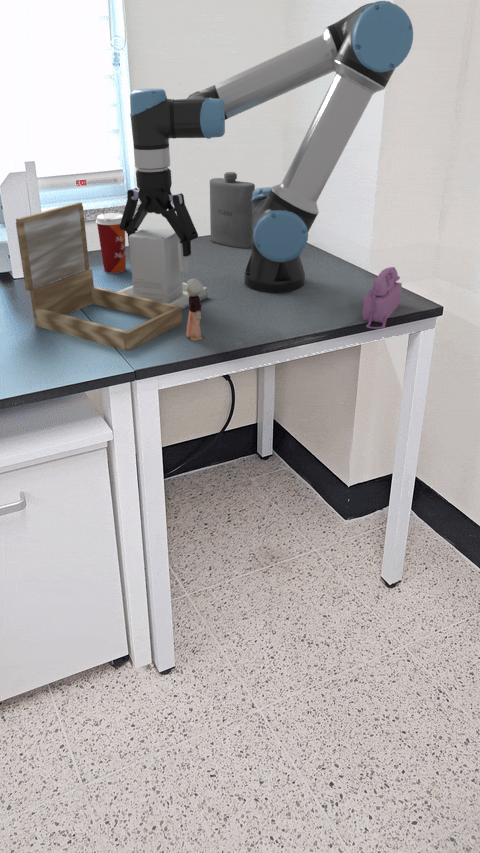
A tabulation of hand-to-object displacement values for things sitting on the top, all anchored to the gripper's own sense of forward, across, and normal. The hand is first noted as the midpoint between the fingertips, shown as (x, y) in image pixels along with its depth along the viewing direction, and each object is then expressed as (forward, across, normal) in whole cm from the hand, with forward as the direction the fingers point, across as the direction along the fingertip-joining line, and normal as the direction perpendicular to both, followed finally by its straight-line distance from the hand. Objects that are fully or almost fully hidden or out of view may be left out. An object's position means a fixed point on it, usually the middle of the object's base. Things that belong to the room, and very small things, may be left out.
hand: (160, 265), depth 165 cm
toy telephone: (+10, -47, -18) cm, 51 cm away
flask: (+9, +14, -51) cm, 53 cm away
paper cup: (+8, +26, -13) cm, 30 cm away
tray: (+8, +1, 0) cm, 9 cm away
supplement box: (+8, +1, 0) cm, 8 cm away
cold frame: (+8, +1, +18) cm, 20 cm away
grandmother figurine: (+9, -19, +14) cm, 26 cm away
